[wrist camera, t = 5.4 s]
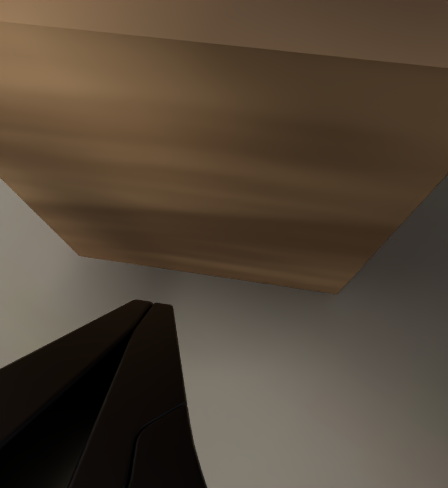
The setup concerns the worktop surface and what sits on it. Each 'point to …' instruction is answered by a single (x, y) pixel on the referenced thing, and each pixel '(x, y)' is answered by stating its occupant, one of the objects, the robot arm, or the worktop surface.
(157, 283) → the worktop surface
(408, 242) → the worktop surface
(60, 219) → the domino
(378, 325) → the worktop surface
